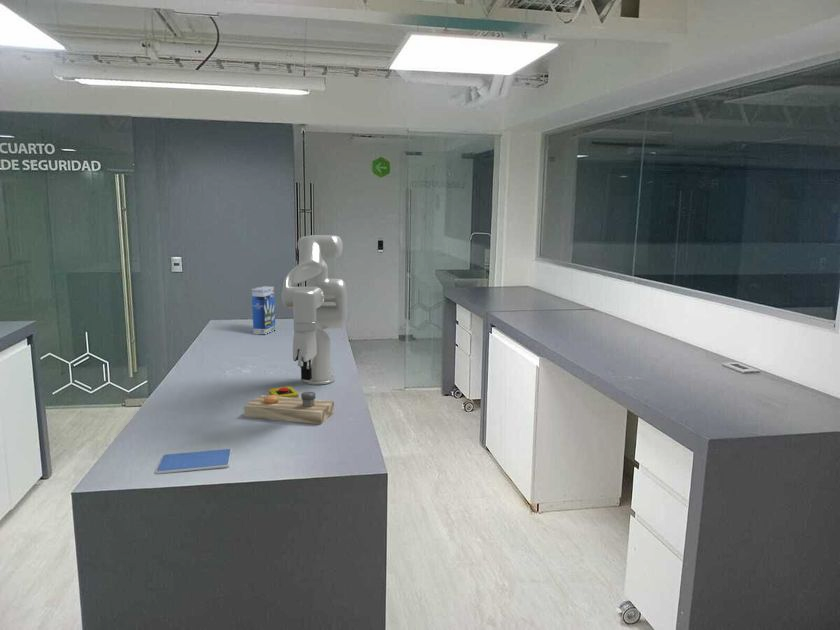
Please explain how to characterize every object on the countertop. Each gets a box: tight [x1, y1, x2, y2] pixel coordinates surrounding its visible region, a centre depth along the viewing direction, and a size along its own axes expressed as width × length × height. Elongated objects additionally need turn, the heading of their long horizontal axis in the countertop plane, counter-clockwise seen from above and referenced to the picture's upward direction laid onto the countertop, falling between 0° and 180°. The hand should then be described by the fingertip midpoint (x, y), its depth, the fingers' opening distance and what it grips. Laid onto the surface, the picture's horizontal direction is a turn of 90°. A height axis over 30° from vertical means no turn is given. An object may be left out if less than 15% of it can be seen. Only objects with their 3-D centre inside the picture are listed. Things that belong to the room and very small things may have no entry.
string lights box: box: [251, 285, 276, 335], centre depth 343 cm, size 13×8×26 cm, turn 167°
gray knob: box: [300, 391, 316, 407], centre depth 209 cm, size 5×5×6 cm
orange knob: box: [264, 395, 278, 404], centre depth 212 cm, size 5×5×6 cm
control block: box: [243, 394, 335, 425], centre depth 211 cm, size 12×28×4 cm, turn 77°
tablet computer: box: [154, 448, 233, 475], centre depth 172 cm, size 19×13×1 cm, turn 103°
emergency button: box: [266, 386, 300, 398], centre depth 229 cm, size 9×4×15 cm
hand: (306, 379), depth 207 cm, fingers closed
